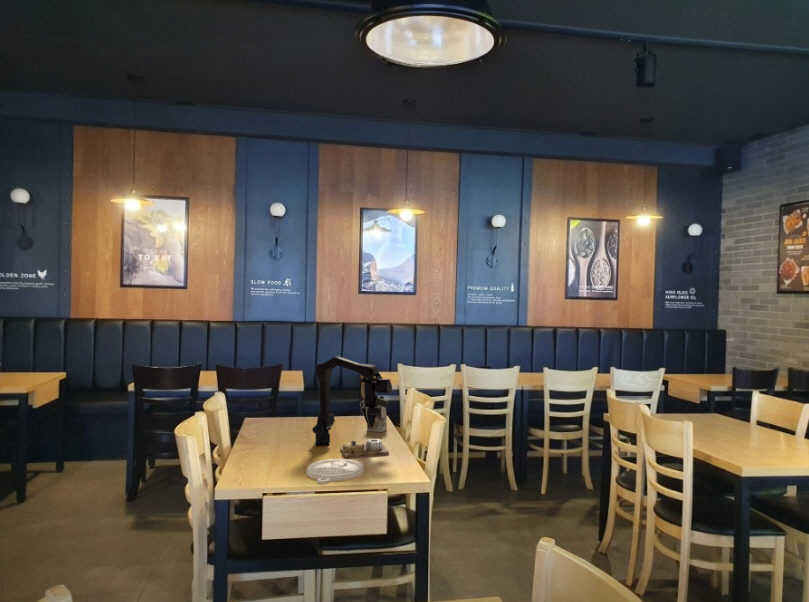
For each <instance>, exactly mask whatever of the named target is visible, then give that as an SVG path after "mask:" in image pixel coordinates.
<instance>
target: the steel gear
mask: <svg viewBox="0 0 809 602" xmlns="http://www.w3.org/2000/svg"><path fill="white" fill-rule="evenodd" d="M372 441H376V442H372ZM365 445H366V449H367V450H373V451H375V450H381V449H382V445H383V440H382V439H380V438H369V439H367V440H366V441H365Z"/></svg>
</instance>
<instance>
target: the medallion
mask: <svg viewBox="0 0 809 602" xmlns="http://www.w3.org/2000/svg"><path fill="white" fill-rule="evenodd" d="M305 472H306V474H305V475H306V476H308V477H309V478H311V479H314V480H317V483H318V484H321V485H323V484H328V483H330V482H337V481H339V482H340V481H346V480H350V479H351V480H352V479H355V478H358V477H359V476H361V475H362V474H364V464H362V462H359V461H357V460H354V459H350V458H331V459H327V458H326V459H324V460H319V461H318V460H317V461H315V462H313V463H310V464H309V465H307V467H306V470H305Z"/></svg>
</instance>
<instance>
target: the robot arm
mask: <svg viewBox="0 0 809 602" xmlns="http://www.w3.org/2000/svg"><path fill="white" fill-rule="evenodd" d="M337 367H340V368H344V369H347V370H349V371H352V372H355V373H357V374H359V376H361V377H362V378H361V380H359V383H363V394H362V396H363V400H361V401H360V402H359V407H360V410H361V412H362V414H363V417H364V419H365V422H366V424H367V423H369V425H370V427H371V428H373V425H374V421H375V418H376V416H377V415H379V414H380V409H379V408H378V407H377V406H378V405H380V406H383V407H384V408H386V409H387V407H388V403H389V401H388V400H387V399H385V396H383V395H385V394H386V395H390V394H391V393H392V391H393V383H392V382H391V379H390V378H383V377H382V375H381V373H380V371H379V370H378V367H377V365H374V364H367V363H360V362H356V361H354V360H350V359H347V358H345V357H342V356H340V355H337V356H333V357H332V358H330V359H329V360H327V361H325V362H321V363H318V364H317V365H316V366H315V375H316V378H317V380H318V382H319V384H318V385H319V389H318V390H319V413H318V415H317V419H316V424H315V425H314V426H313V428H312V433H313V434H314V438H315V440H314V444H315V446H316V447H320V446H330V444H331V434H330V431H331V429H332V427H333V426H334V424H335V422H336V420H335V413H332V411H331V400H330V399H331V398H330V397H331V396H330V380H331V377H332V375H333V370H334V369H335V368H337ZM378 394H383V395H379V396H378Z"/></svg>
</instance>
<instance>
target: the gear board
mask: <svg viewBox="0 0 809 602" xmlns="http://www.w3.org/2000/svg"><path fill="white" fill-rule="evenodd" d="M372 442H376V441H372ZM340 452H341V453H343V454H342V456H344V459H354V458H366V457H378V456H379V455H381V456H390V451H389V449H387V448H386V447H385V446H384V444H382V449H381V450H375V451H373V450H367V449H366V444H365V443H363V442H358V441H356V440H351V441H350V442H346V443H343V445H342V446H340ZM379 457H380V456H379Z"/></svg>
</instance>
